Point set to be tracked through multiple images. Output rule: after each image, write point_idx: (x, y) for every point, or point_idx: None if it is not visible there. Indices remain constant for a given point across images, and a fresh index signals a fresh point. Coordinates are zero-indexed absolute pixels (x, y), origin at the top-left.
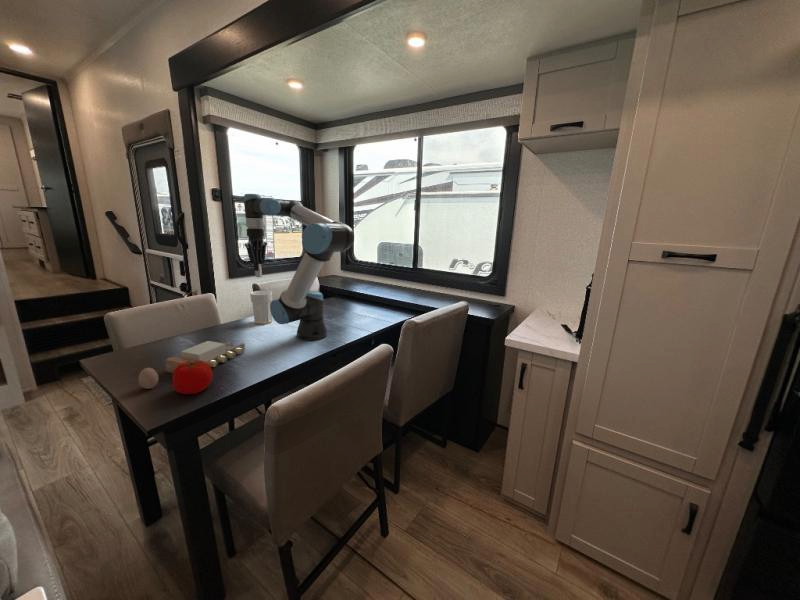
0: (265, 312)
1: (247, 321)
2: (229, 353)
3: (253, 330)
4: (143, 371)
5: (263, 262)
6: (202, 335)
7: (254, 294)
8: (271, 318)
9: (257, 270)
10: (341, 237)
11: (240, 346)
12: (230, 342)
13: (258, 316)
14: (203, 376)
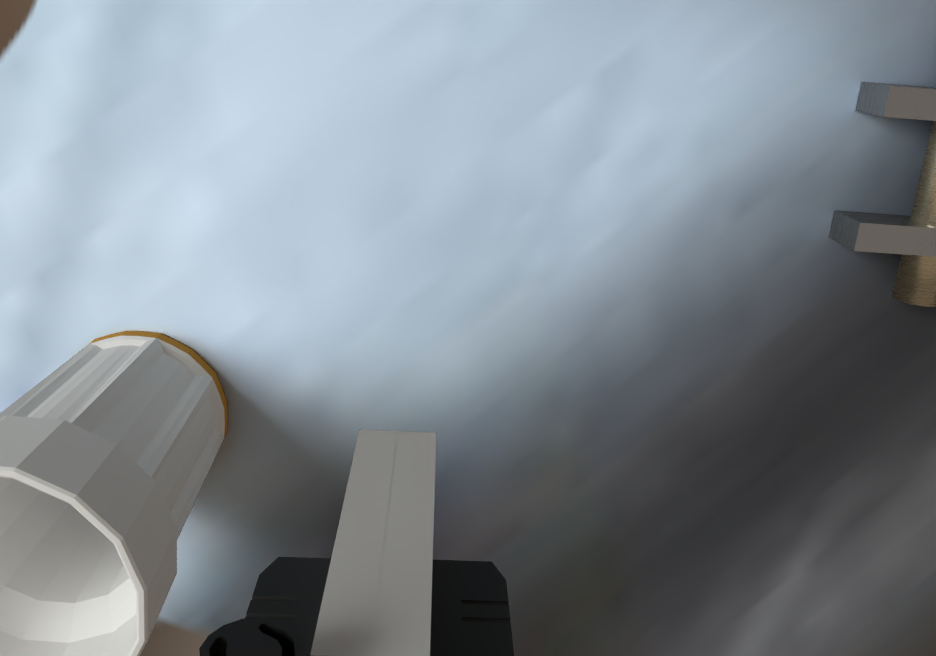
0: (138, 398)
1: (184, 558)
2: None
3: (388, 343)
4: None
5: (210, 650)
6: (627, 630)
7: None
8: (84, 352)
9: (477, 565)
10: None
11: (932, 89)
12: (879, 229)
13: (197, 441)
14: None
